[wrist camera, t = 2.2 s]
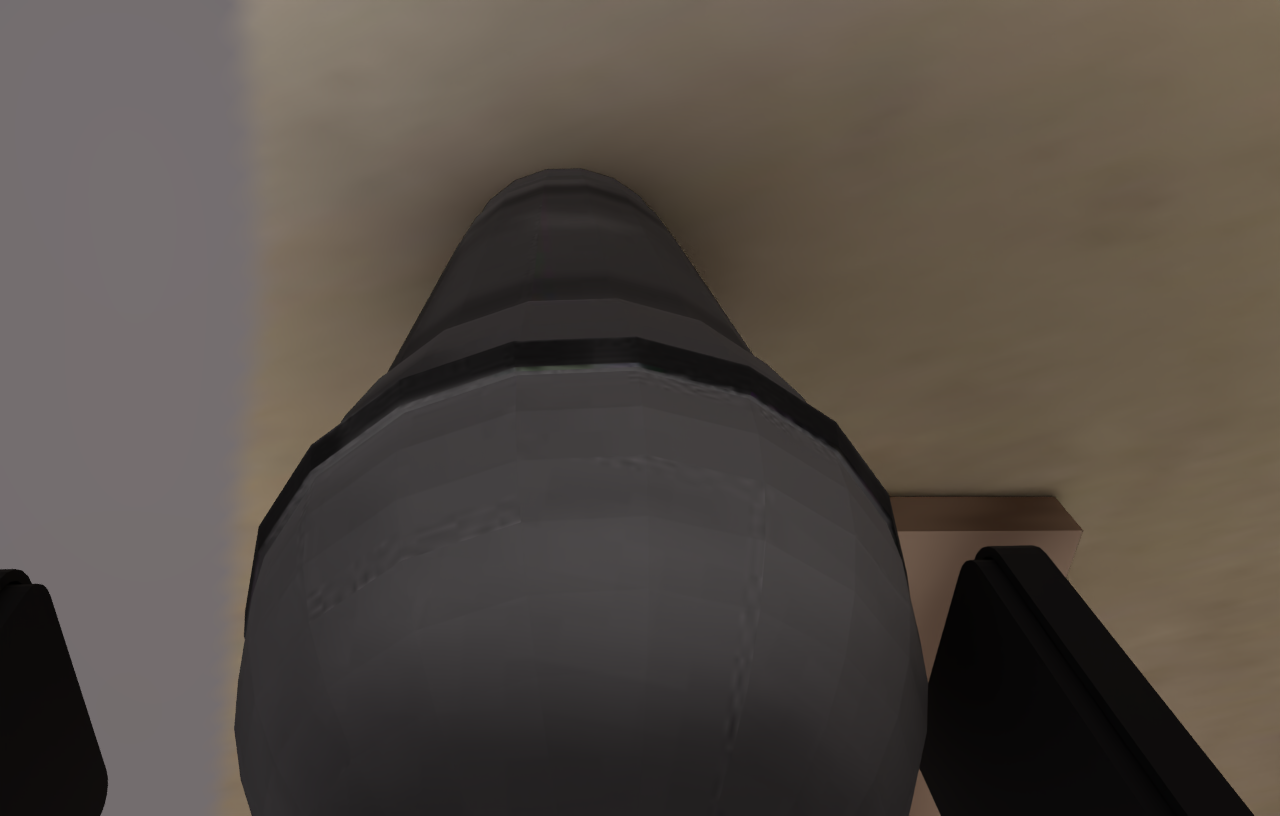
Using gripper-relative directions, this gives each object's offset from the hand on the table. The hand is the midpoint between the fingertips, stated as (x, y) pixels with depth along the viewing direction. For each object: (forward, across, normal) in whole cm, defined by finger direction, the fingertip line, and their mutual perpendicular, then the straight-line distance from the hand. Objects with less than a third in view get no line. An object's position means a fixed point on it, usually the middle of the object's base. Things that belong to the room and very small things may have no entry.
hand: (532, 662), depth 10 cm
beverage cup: (+12, -1, 0) cm, 12 cm away
